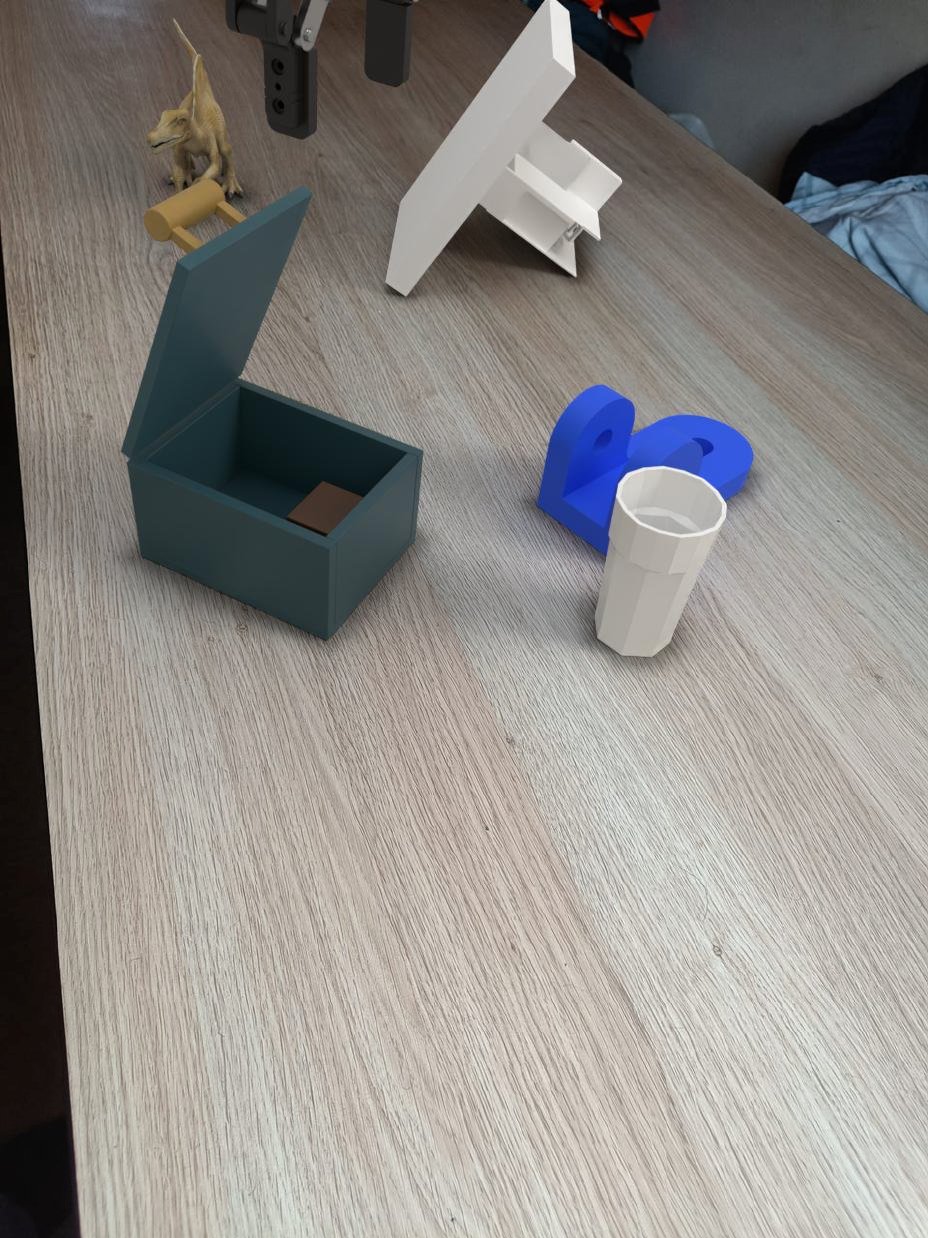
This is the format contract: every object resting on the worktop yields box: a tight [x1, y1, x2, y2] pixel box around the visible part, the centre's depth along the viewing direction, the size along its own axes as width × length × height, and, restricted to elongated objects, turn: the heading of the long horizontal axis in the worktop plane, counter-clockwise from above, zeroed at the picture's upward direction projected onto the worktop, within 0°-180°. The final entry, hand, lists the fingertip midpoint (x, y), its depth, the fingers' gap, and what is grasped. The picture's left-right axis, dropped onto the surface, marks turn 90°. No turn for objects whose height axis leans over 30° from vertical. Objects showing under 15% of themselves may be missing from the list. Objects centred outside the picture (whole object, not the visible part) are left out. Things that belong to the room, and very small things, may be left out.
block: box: [286, 481, 364, 537], centre depth 70 cm, size 4×4×4 cm
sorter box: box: [126, 377, 424, 641], centre depth 70 cm, size 15×12×8 cm
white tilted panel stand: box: [384, 0, 623, 297], centre depth 102 cm, size 23×16×24 cm
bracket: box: [536, 384, 754, 557], centre depth 79 cm, size 18×8×9 cm, turn 133°
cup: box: [594, 466, 728, 658], centre depth 67 cm, size 7×7×11 cm
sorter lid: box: [120, 179, 314, 460], centre depth 63 cm, size 15×12×5 cm
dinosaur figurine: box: [145, 17, 244, 199], centre depth 106 cm, size 8×26×13 cm, turn 5°
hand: (341, 106), depth 51 cm, fingers open, 8 cm apart
